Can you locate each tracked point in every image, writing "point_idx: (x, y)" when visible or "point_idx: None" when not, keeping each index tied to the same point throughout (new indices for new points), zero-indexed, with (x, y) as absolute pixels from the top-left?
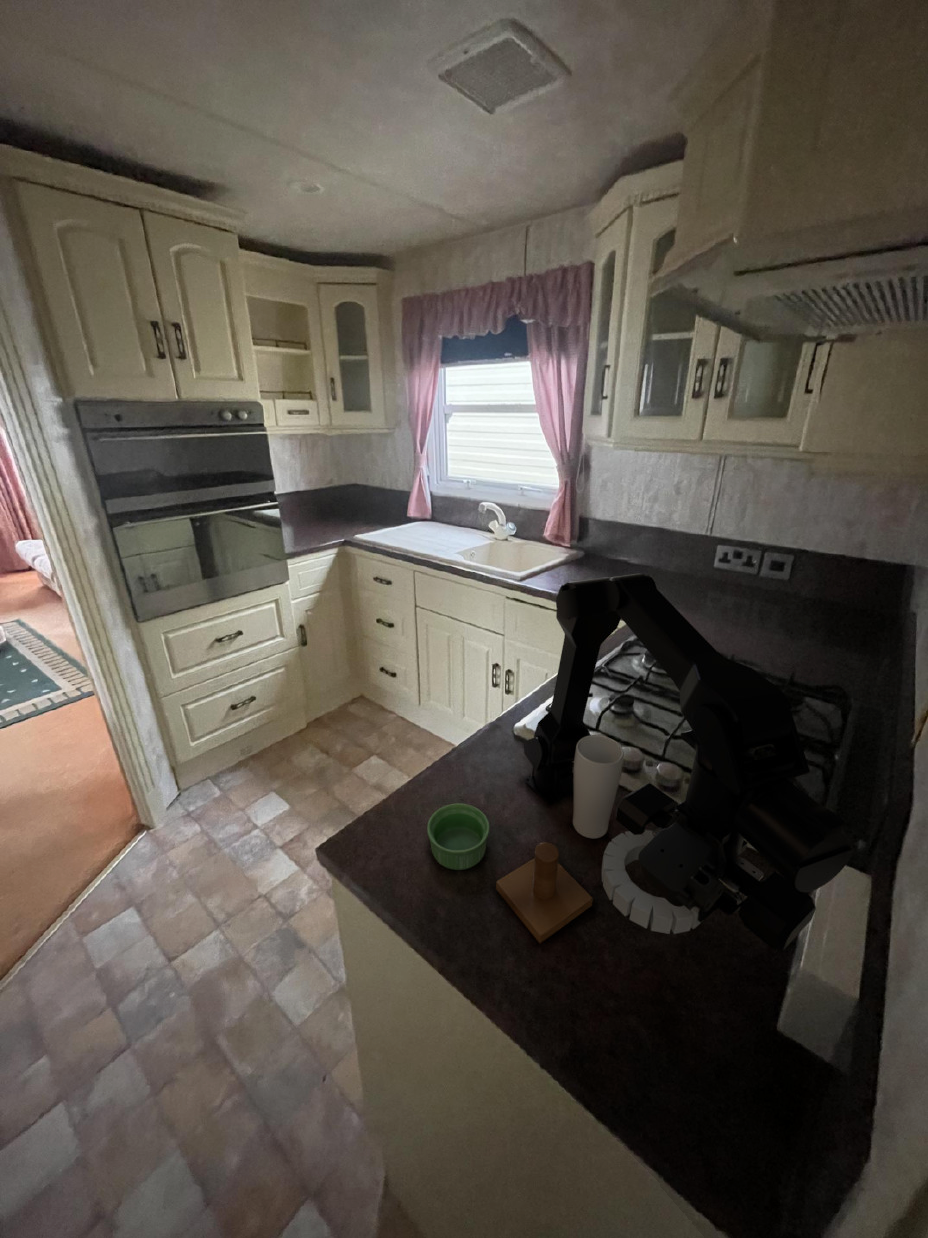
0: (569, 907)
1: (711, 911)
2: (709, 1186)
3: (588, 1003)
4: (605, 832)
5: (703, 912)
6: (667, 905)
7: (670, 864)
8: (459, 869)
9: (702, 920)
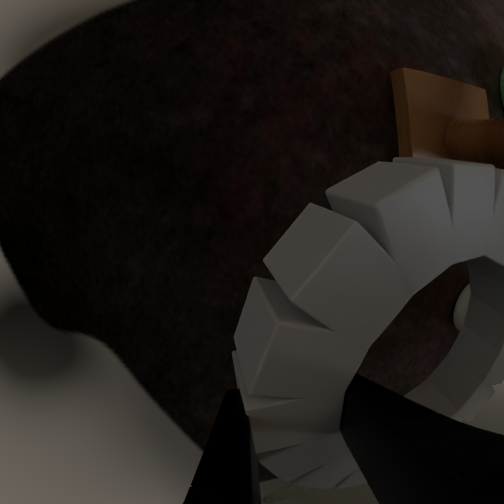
0: (421, 155)
1: (190, 495)
2: (5, 91)
3: (267, 64)
4: (456, 319)
5: (227, 446)
6: (353, 325)
7: None
8: (501, 74)
9: (221, 406)
